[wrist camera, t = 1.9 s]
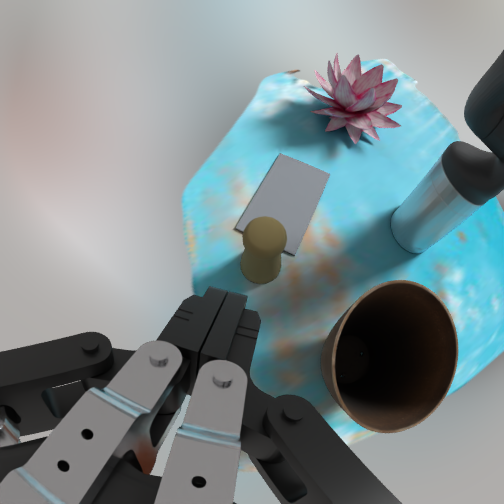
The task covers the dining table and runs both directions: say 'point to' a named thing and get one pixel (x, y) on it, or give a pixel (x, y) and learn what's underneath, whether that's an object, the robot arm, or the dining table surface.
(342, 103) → the decorative flower
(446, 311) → the plant pot
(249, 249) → the cork
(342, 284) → the dining table surface
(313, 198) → the mat
